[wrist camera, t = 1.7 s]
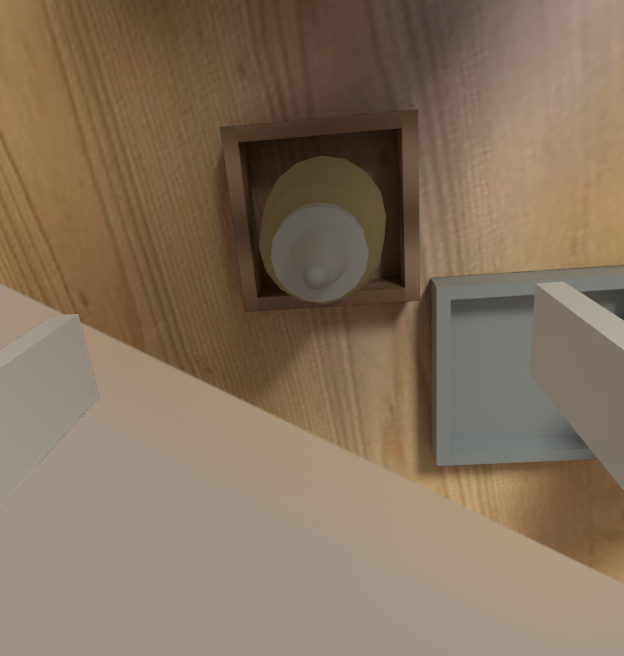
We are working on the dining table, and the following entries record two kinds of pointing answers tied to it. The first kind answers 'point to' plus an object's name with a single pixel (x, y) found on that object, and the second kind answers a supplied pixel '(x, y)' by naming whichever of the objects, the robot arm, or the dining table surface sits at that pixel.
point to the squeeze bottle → (323, 230)
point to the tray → (501, 367)
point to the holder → (244, 218)
